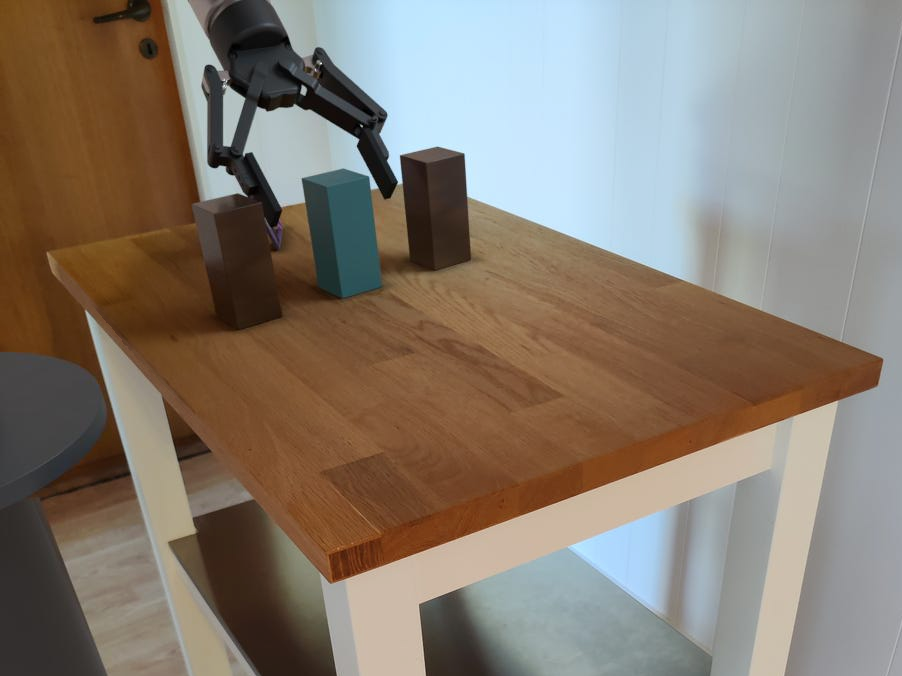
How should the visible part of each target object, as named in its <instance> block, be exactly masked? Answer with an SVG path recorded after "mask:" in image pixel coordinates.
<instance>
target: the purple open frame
mask: <svg viewBox="0 0 902 676" xmlns="http://www.w3.org/2000/svg"><path fill="white" fill-rule="evenodd" d="M247 197H249V198H251V199H254V200H255V198H254V196H253V195H251V196H247ZM264 218H265V217H264ZM265 223H266V229H267V234H268V238H269V240H271V242H272V245H273V246H274V248H275V250H276V251H279V250H280V249H281V244H282V237H283V230H284V227H283V224H282V223H281V218H280V219H279V222H278V225H277V227H278V229H277V231H276V229H275V227H273V228H270V227H269V225H268V223H267V221H266V219H265Z"/></svg>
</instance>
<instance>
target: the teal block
mask: <svg viewBox="0 0 902 676" xmlns="http://www.w3.org/2000/svg"><path fill="white" fill-rule="evenodd" d="M370 179H371V178H370V176H369V175H366V174H363V173H359V172H357V171H354V170H349V169H347V168H340V169H334V170H331V171H326V172H322V173H317V174H314V175H309V176H306V177H301V184H302V190H303V197H304V202H305V203H304V204H305V209H306V216H307V222H308V229H309V235H310V241H311V247H312V255H313V260H314V267H315V273H316V280H317V285H318V288H319V289H321V290H324V292H325V291H326V292H327V293H330V294H332V295H333V296H336V297H338V298H340V299H346V298H350V297H353V296H356V295H359V294H363V293H366V292H369V291H373V290H376V289H379V288H382V287H383V281H382V273H381V265H380V257H379V255H380V254H379V247H378V239H377V230H376V222H375V213H374V205H373V197H372V188H371V180H370Z"/></svg>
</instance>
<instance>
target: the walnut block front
mask: <svg viewBox="0 0 902 676" xmlns="http://www.w3.org/2000/svg"><path fill="white" fill-rule="evenodd" d="M191 208H192V213H193V217H194V223H195V226H196V231H197V235H198V239H199V243H200V248H201V254H202V257H203V263H204V266H205V270H206V275H207V279H208V283H209V287H210V292H211V297H212V301H213V306H214V311H215V315H216V318H217V319H220V320H221V321H222V322H224V323H226V324H228V325H230V326H231V327H232V328H235V329H236V330H243V329H246V328H250V327H252V326H256V325H259V324H262V323H265V322H269V321H273V320H275V319H278V318H282V317H283V311H282V306H281V301H280V296H279V289H278V284H277V278H276V273H275V268H274V262H273V256H272V252H271V246H270V245H271V244H270V239H269V235H268V233H267V229H266V223H265V218H264V212H263V207H262V203H261V202H259V201H257V200H254V199H251V198H249V197H248V196H246V195H245V194H241V193H238V192H237V193H233V194H229V195H223V196H220V197H215V198H211V199H207V200H202V201H199V202H195V203H194V202H193V203H191Z"/></svg>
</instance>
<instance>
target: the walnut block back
mask: <svg viewBox="0 0 902 676" xmlns="http://www.w3.org/2000/svg"><path fill="white" fill-rule="evenodd" d="M399 162H400V171H401V183H402V184H401V185H402V194H403V202H404V213H405V223H406V233H407V242H408V253H409V261H410V262H413V263H415V264H418V265H421V266H423V267H424V268H425V267H426V268H428V269H430V270H433V271H437V270H442V269H445V268H447V267H451V266H455V265H458V264H461V263H465V262H468V261H471V260H472V251H471V250H472V249H471V235H470V220H469V217H470V216H469V204H468V203H469V202H468V185H467V170H466V169H467V167H466V154H465V153H464V152H460V151H456V150H454V149H453V150H452V149H450V148H445V147H442V146H434V147H430V148H429V147H428V148H424V149H420V150H416V151H412V152H407V153H403V154H400V155H399Z"/></svg>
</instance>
